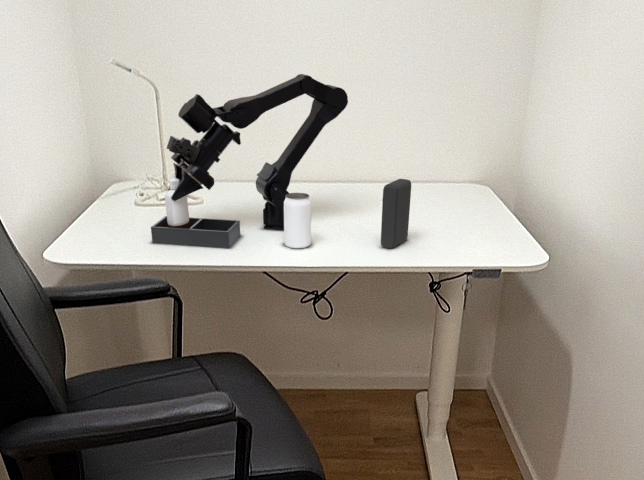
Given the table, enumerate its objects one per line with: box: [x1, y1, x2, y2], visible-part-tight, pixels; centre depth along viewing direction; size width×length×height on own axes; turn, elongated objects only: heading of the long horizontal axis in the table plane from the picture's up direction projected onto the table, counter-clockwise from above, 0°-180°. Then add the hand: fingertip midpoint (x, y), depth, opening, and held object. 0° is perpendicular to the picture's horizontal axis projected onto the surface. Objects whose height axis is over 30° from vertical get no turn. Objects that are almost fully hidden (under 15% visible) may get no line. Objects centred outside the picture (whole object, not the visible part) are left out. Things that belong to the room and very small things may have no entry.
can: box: [283, 192, 312, 250], centre depth 178 cm, size 6×6×12 cm
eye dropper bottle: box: [164, 173, 190, 226], centre depth 179 cm, size 4×6×12 cm
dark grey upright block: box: [380, 178, 412, 249], centre depth 179 cm, size 9×4×15 cm, turn 150°
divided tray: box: [150, 215, 241, 249], centre depth 182 cm, size 10×19×4 cm, turn 80°
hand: (170, 197), depth 178 cm, fingers closed on eye dropper bottle, 4 cm apart
